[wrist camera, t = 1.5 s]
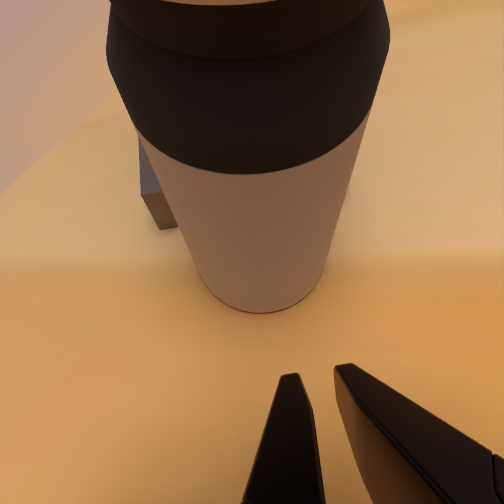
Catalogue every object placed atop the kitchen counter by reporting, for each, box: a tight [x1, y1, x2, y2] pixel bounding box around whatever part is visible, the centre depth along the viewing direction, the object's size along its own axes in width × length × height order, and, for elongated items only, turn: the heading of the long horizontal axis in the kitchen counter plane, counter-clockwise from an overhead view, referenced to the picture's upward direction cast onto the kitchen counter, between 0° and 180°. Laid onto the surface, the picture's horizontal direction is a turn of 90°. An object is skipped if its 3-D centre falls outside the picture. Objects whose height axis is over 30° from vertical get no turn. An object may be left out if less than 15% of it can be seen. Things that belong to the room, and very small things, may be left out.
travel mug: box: [106, 0, 390, 313], centre depth 16 cm, size 8×8×18 cm
